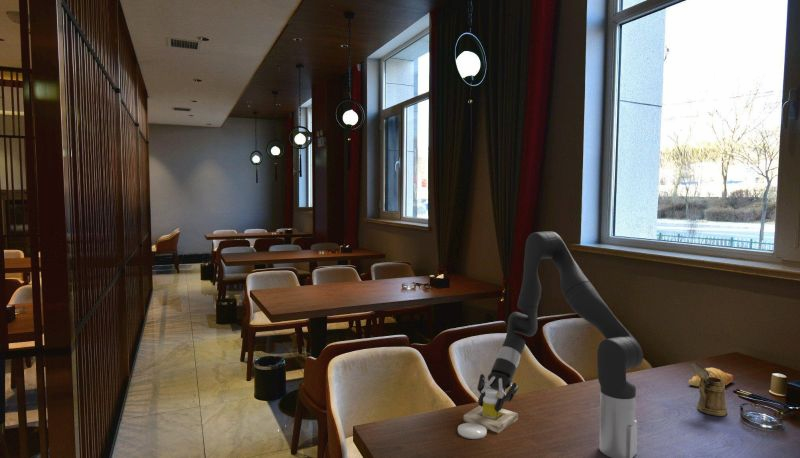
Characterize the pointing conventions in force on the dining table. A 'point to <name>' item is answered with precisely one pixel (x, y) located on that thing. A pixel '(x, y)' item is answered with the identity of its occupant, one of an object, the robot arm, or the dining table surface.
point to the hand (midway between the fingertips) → (488, 407)
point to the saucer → (472, 430)
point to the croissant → (713, 373)
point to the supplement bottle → (490, 404)
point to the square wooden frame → (497, 425)
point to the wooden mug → (710, 393)
